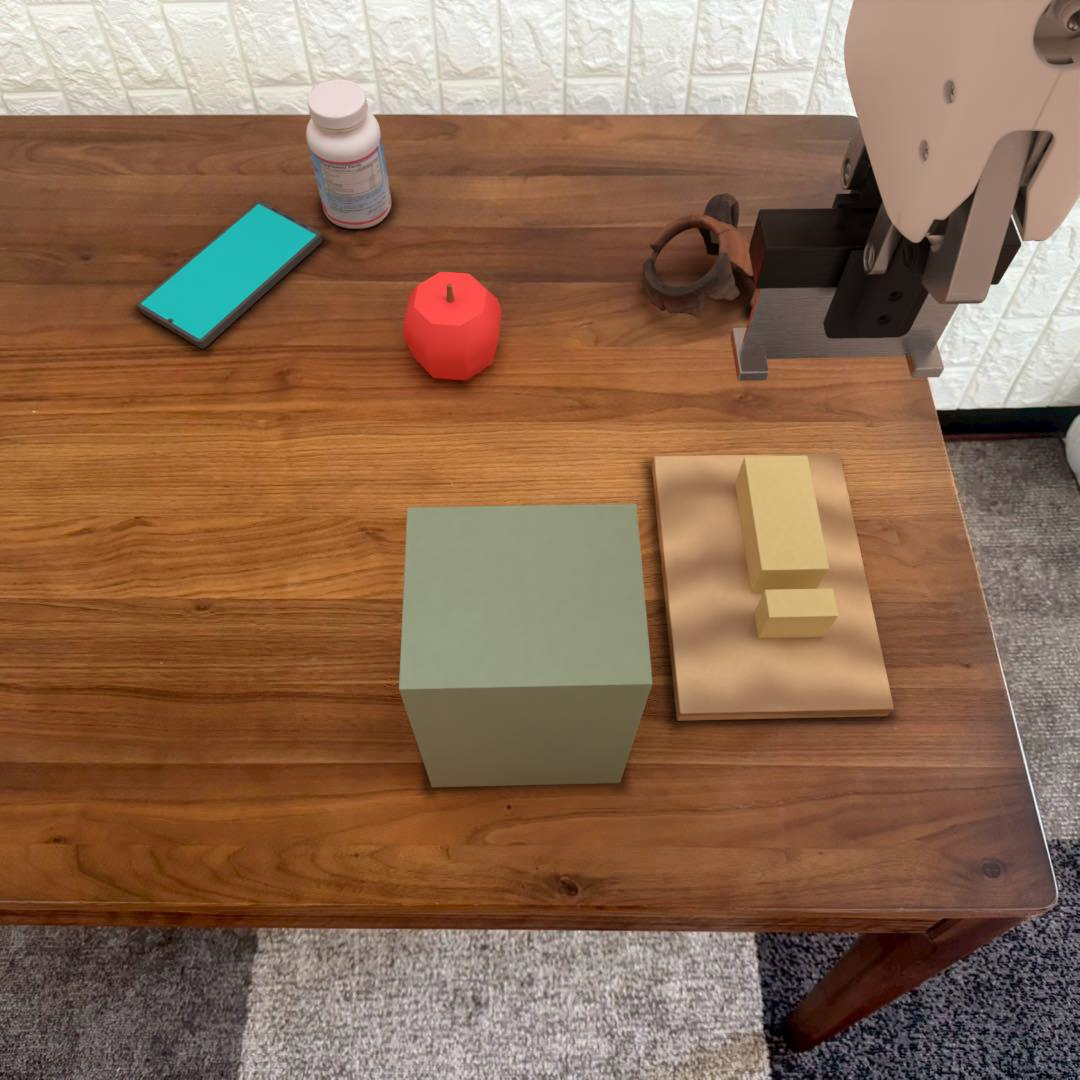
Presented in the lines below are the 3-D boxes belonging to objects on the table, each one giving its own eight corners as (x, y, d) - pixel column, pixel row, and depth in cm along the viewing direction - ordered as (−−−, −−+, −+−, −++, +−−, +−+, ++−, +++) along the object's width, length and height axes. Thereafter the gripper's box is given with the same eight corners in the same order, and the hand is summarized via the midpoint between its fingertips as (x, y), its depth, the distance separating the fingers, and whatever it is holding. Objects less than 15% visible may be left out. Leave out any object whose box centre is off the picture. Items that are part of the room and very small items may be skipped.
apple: (388, 372, 77) (374, 302, 70) (438, 305, 80) (429, 232, 73) (474, 409, 75) (469, 341, 68) (522, 339, 79) (521, 268, 72)
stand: (620, 783, 61) (652, 683, 45) (431, 787, 61) (398, 689, 45) (610, 638, 66) (636, 503, 50) (435, 641, 66) (407, 506, 50)
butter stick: (815, 591, 66) (829, 568, 63) (750, 593, 66) (761, 570, 63) (795, 481, 71) (807, 455, 68) (734, 482, 70) (744, 456, 67)
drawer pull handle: (946, 377, 40) (1024, 248, 33) (730, 381, 39) (768, 253, 33) (933, 333, 41) (1006, 200, 35) (722, 336, 41) (758, 204, 34)
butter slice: (823, 637, 65) (838, 616, 62) (757, 638, 64) (769, 617, 61) (819, 610, 66) (833, 588, 62) (753, 611, 65) (764, 589, 62)
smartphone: (322, 233, 83) (199, 343, 77) (324, 240, 84) (203, 350, 78) (259, 198, 85) (134, 303, 79) (261, 206, 86) (138, 310, 79)
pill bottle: (334, 180, 87) (310, 68, 78) (399, 189, 87) (383, 77, 77) (315, 227, 85) (287, 116, 75) (382, 237, 84) (362, 127, 74)
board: (887, 716, 64) (894, 709, 62) (676, 721, 63) (679, 713, 62) (834, 463, 73) (839, 452, 72) (651, 466, 73) (653, 455, 72)
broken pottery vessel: (764, 348, 79) (733, 298, 72) (659, 355, 84) (620, 308, 77) (784, 221, 82) (755, 160, 75) (680, 234, 87) (645, 179, 80)
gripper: (1446, -75, 17) (1006, 474, 34) (1149, -416, 25) (906, 164, 41) (1041, -72, 17) (793, 479, 33) (866, -417, 25) (733, 166, 41)
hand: (857, 302), depth 37 cm, fingers closed on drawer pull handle, 2 cm apart
